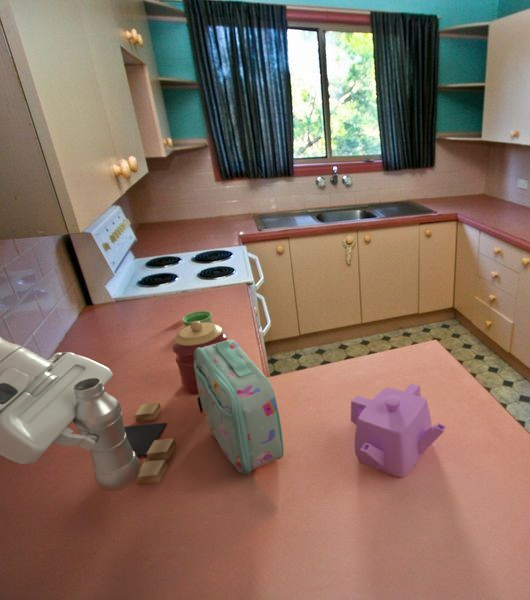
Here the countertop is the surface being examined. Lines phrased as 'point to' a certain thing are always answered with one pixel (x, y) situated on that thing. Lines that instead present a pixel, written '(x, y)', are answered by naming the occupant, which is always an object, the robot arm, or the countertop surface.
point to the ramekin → (197, 317)
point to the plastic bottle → (105, 435)
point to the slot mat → (143, 437)
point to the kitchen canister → (187, 345)
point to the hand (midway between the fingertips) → (106, 428)
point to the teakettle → (393, 429)
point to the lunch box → (238, 405)
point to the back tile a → (148, 412)
